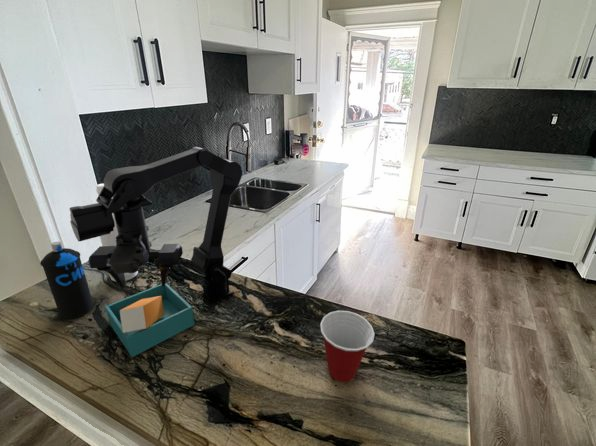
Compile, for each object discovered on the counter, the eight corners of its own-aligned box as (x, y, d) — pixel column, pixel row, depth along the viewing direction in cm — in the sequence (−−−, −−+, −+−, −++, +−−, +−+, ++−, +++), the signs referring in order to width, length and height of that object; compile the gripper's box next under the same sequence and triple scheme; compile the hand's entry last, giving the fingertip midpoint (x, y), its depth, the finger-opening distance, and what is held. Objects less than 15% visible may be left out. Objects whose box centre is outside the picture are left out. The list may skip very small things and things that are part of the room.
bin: (168, 298, 90) (165, 282, 87) (194, 324, 80) (192, 307, 78) (109, 324, 80) (104, 306, 77) (131, 357, 70) (127, 338, 68)
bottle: (105, 282, 97) (80, 188, 85) (118, 268, 104) (97, 180, 92) (131, 282, 97) (110, 188, 85) (142, 269, 104) (124, 181, 92)
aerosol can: (51, 314, 83) (26, 247, 75) (81, 297, 90) (61, 233, 82) (72, 323, 80) (49, 253, 72) (101, 304, 87) (83, 239, 79)
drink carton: (141, 299, 81) (119, 310, 68) (161, 295, 82) (143, 306, 69) (144, 318, 81) (122, 333, 68) (164, 314, 82) (146, 328, 69)
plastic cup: (357, 403, 60) (363, 356, 56) (308, 377, 66) (310, 332, 61) (375, 365, 69) (382, 321, 64) (331, 345, 74) (334, 303, 69)
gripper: (65, 245, 61) (85, 310, 67) (165, 241, 63) (176, 305, 69) (93, 222, 71) (108, 281, 77) (178, 220, 73) (187, 277, 79)
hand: (144, 286), depth 75 cm, fingers open, 9 cm apart
